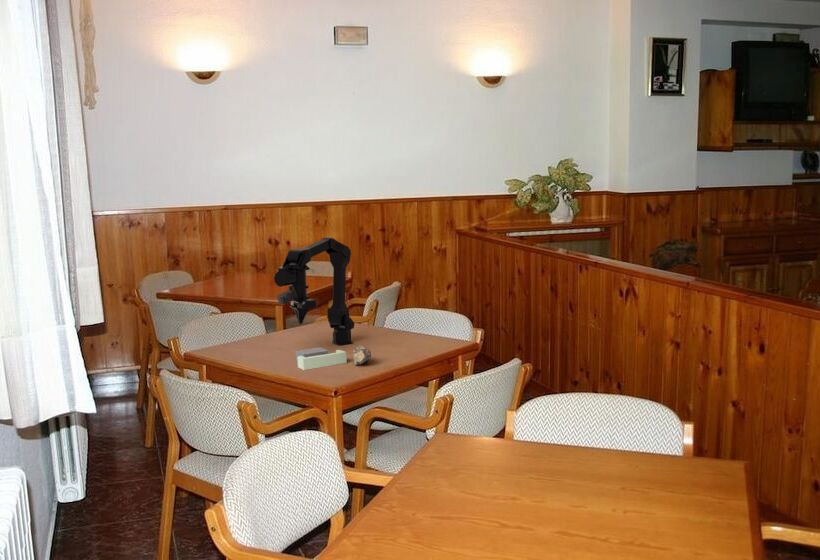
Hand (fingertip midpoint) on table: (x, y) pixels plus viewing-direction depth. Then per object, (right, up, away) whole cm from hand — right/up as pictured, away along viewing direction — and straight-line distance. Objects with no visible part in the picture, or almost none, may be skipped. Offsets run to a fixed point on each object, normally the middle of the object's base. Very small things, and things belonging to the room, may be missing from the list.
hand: (300, 323), depth 316 cm
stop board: (+10, -14, -13) cm, 22 cm away
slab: (+5, -14, -5) cm, 16 cm away
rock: (+23, -14, -11) cm, 30 cm away
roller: (+7, -13, -9) cm, 18 cm away
